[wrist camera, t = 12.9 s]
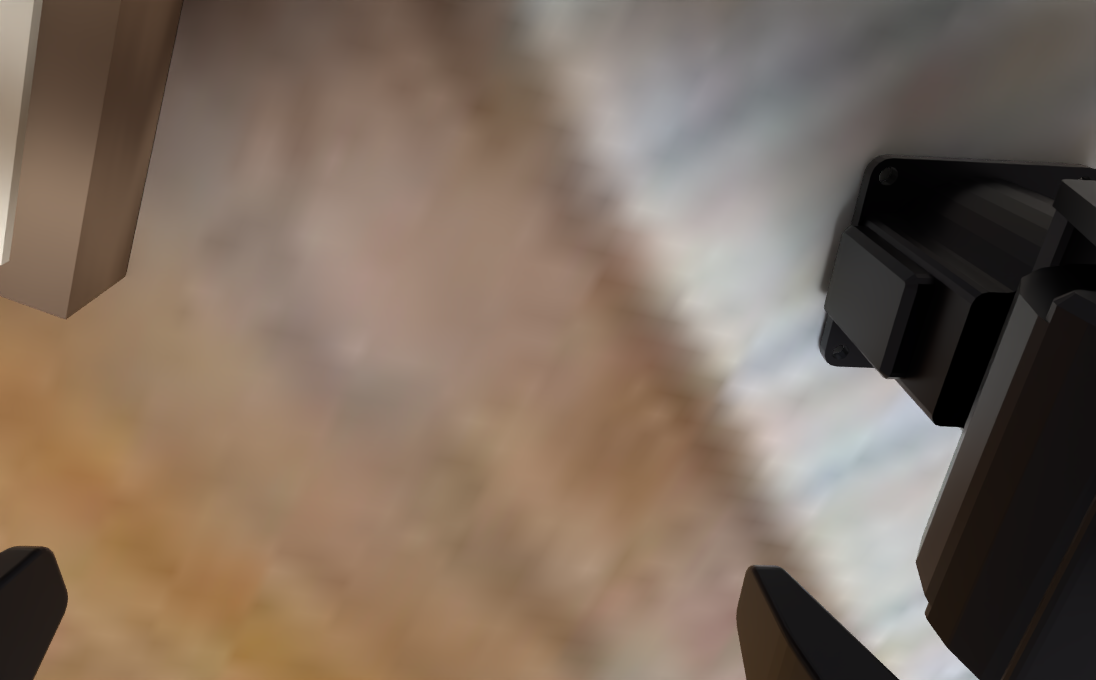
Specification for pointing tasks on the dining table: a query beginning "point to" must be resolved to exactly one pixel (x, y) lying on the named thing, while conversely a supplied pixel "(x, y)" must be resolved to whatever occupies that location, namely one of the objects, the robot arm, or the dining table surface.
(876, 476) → the dining table surface
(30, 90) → the walnut pocket board
